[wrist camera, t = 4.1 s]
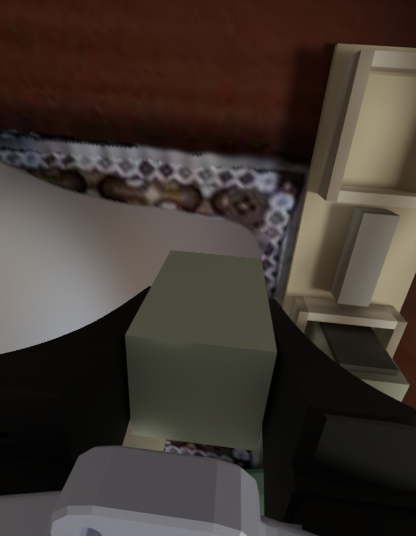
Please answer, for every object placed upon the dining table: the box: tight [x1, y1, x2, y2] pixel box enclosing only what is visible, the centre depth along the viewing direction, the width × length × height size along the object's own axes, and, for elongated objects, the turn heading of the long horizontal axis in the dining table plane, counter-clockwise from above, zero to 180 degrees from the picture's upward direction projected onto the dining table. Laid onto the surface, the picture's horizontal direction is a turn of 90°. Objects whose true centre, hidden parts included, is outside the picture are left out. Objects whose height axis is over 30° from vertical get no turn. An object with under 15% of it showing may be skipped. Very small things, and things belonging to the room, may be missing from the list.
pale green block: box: [125, 251, 277, 451], centre depth 12 cm, size 4×4×6 cm
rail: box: [282, 44, 416, 402], centre depth 17 cm, size 8×22×6 cm, turn 176°
